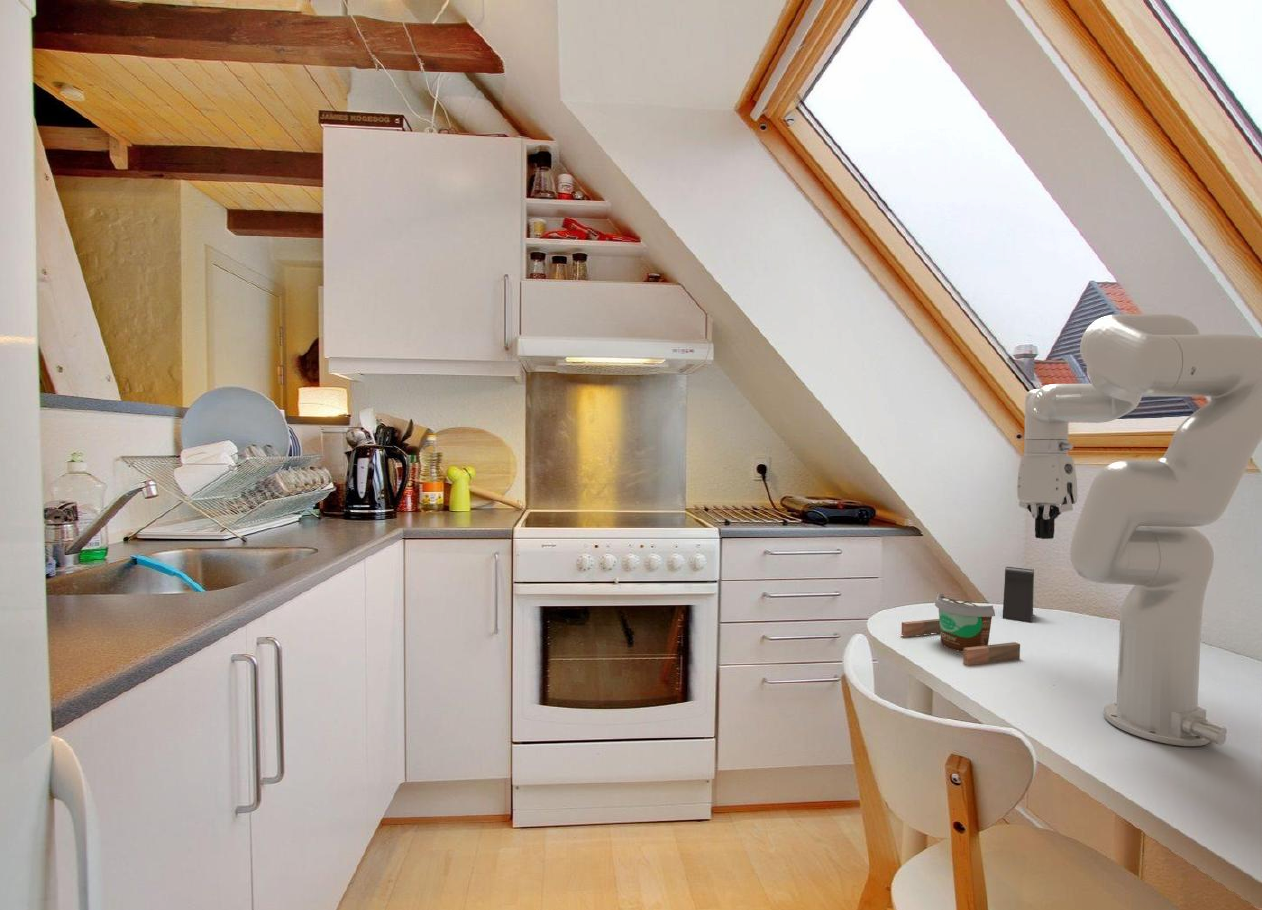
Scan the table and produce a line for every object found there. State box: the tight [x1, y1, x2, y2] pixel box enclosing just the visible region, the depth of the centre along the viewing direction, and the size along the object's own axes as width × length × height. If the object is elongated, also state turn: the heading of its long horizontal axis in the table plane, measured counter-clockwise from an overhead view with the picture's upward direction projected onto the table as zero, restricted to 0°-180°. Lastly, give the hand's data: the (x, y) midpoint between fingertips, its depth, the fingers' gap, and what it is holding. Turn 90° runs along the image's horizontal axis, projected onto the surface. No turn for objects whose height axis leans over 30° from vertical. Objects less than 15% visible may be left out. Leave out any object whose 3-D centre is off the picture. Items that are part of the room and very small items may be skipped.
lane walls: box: [900, 618, 1021, 666], centre depth 133 cm, size 18×13×3 cm
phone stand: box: [1002, 566, 1035, 623], centre depth 156 cm, size 9×6×12 cm, turn 145°
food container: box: [934, 592, 996, 652], centre depth 132 cm, size 12×6×10 cm, turn 27°
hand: (1044, 538), depth 129 cm, fingers closed
